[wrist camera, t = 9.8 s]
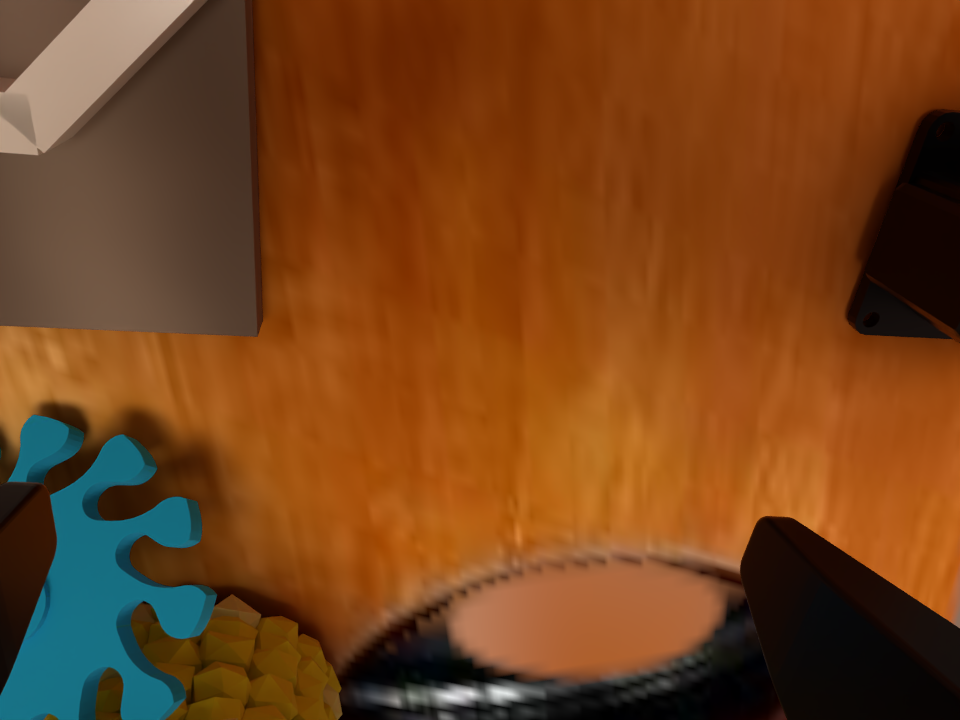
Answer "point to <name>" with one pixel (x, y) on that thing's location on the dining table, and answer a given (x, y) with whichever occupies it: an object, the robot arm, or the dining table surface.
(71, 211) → the board
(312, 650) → the food
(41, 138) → the seat ring
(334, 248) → the dining table surface
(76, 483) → the blue knobbed toy
